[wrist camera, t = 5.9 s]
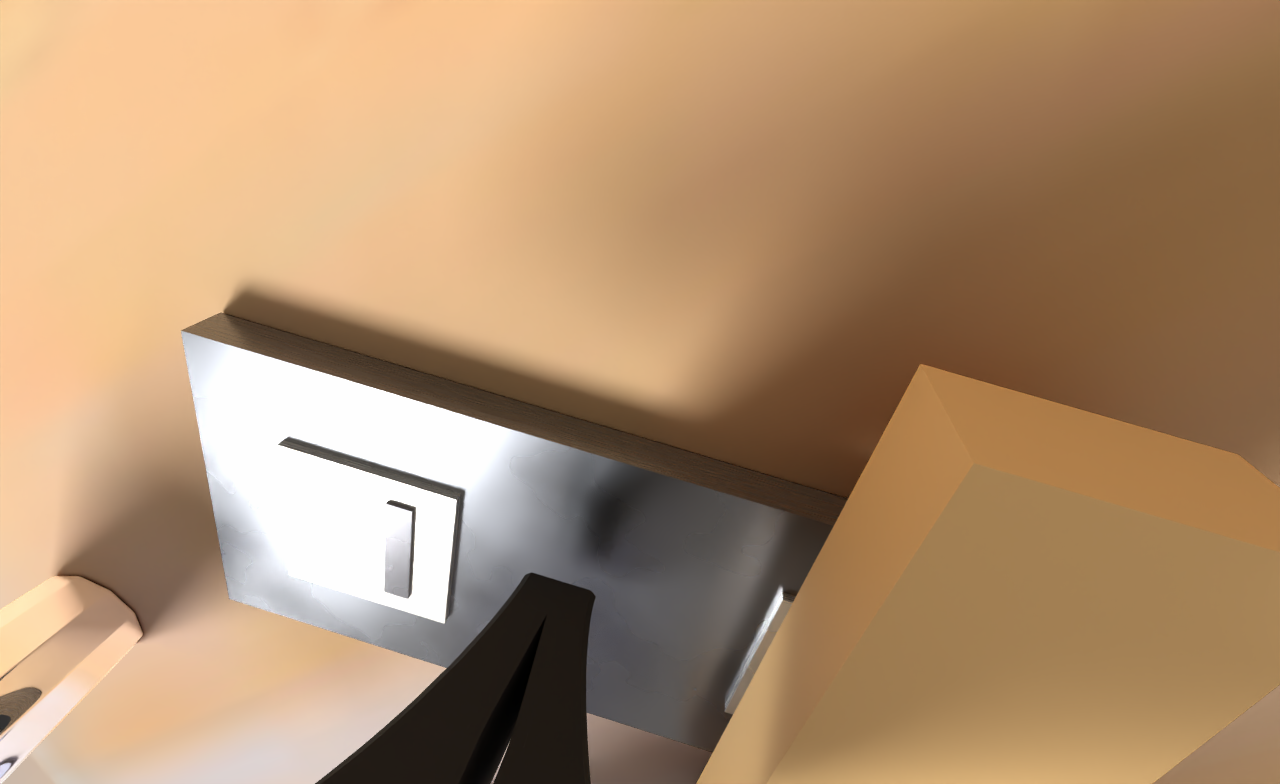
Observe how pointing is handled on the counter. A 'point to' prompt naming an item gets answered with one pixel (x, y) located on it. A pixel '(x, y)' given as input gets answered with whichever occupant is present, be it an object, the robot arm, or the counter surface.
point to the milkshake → (55, 657)
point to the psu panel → (492, 522)
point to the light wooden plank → (1018, 605)
